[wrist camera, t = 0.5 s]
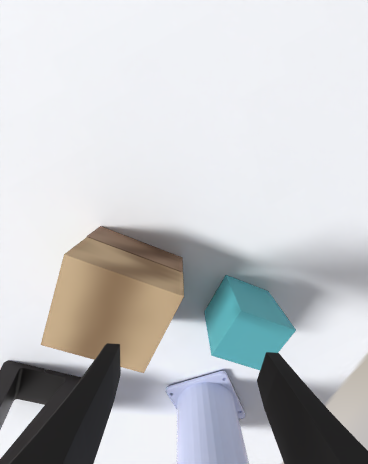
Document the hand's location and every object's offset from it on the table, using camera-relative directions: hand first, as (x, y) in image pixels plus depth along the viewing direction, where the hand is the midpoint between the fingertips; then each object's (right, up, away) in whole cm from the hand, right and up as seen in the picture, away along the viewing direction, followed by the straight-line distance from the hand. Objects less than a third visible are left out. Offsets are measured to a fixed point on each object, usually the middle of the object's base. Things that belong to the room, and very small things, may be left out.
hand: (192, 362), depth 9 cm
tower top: (-6, +1, +7) cm, 9 cm away
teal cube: (+5, -1, +11) cm, 12 cm away
